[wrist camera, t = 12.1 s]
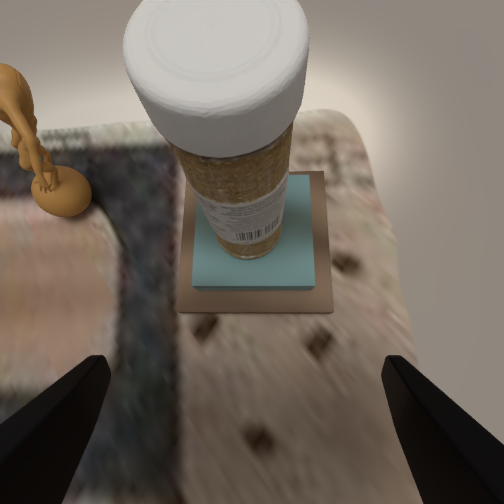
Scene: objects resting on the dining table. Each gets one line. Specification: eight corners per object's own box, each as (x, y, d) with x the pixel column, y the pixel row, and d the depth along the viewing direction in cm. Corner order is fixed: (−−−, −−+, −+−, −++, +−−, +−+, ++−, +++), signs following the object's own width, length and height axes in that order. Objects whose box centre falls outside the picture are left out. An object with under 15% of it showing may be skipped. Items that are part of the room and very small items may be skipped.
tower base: (329, 313, 21) (341, 309, 18) (182, 313, 22) (166, 309, 18) (320, 180, 24) (329, 155, 21) (191, 183, 25) (179, 159, 21)
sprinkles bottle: (276, 195, 20) (295, -55, 7) (286, 257, 19) (332, 89, 6) (211, 203, 20) (115, -30, 7) (217, 266, 19) (113, 119, 6)
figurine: (41, 178, 25) (-145, 49, 14) (102, 146, 26) (-27, -2, 15) (75, 253, 23) (-112, 176, 12) (140, 217, 24) (24, 108, 12)
